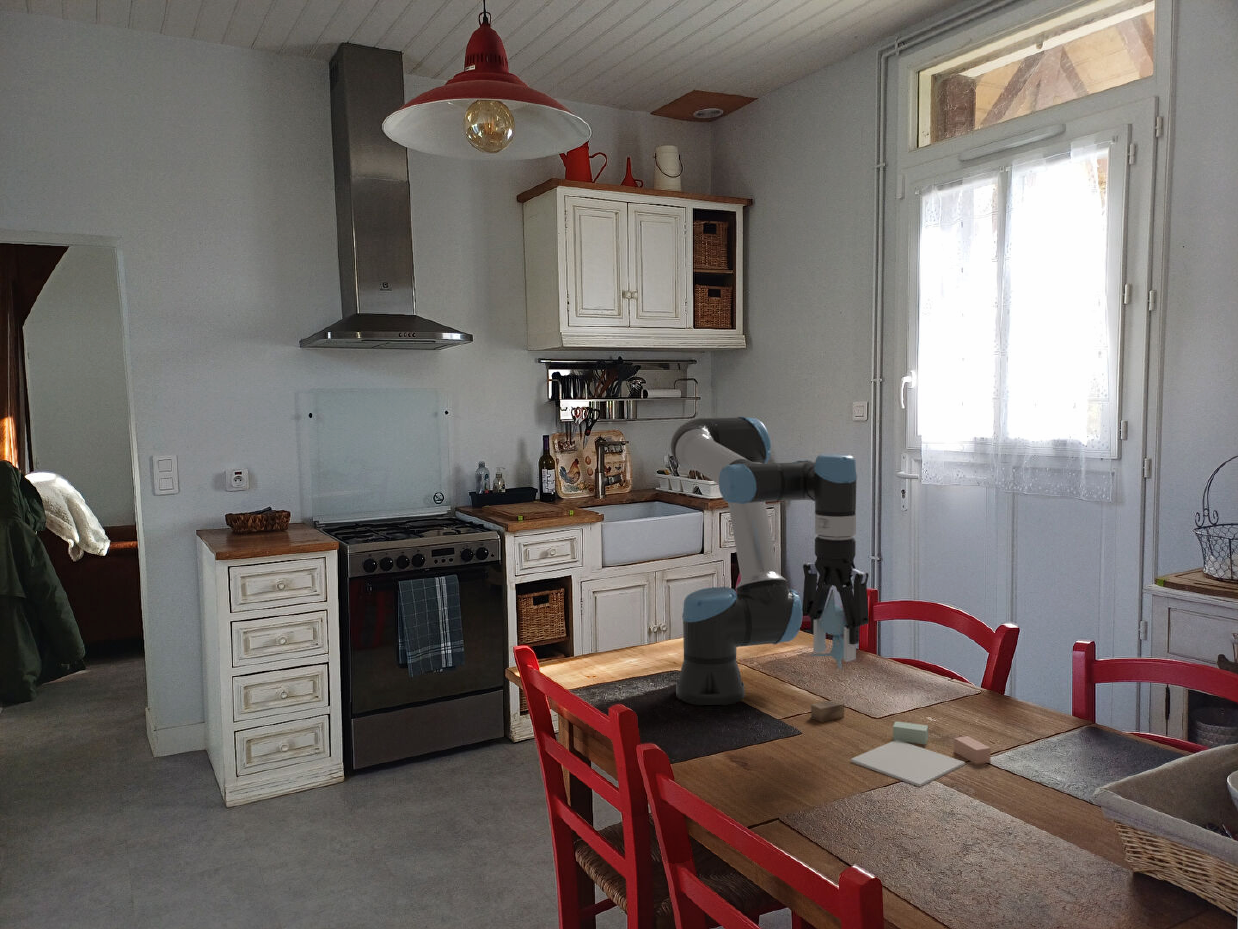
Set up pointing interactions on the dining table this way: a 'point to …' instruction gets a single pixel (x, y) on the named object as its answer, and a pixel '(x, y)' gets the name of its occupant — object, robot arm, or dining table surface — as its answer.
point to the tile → (908, 762)
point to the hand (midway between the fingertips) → (834, 655)
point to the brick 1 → (827, 710)
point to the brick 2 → (910, 732)
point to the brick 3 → (972, 750)
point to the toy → (834, 628)
